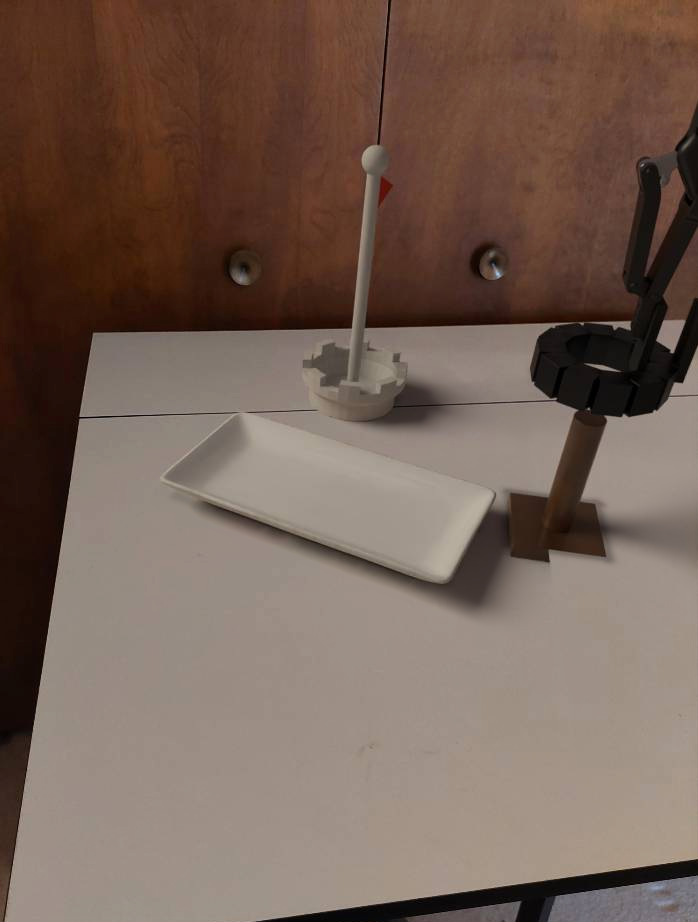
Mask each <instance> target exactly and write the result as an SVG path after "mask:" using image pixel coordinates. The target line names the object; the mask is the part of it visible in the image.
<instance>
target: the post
mask: <svg viewBox="0 0 698 922" xmlns="http://www.w3.org/2000/svg"><path fill="white" fill-rule="evenodd" d="M607 423H608V418H607V416H604V415H596V414H591V413H590V409H587V410H586V411H585V412H582V411H579V410H576V411H575V412H574V414H573V416H572V420H571V423H570V425H569V429H568V431H567V432H568V433H567V436H566V439H565V442H564V444H563V445H564V446H563V448H562V451H561V455H560V459H559V462H558V465H557V468H556V471H555V475H554V478H553V481H552V484H551V488H550V491H549V494H548V497H547V496H540V495H531V494H524V493H518V492H517V493H516V492H509V495H508V498H507V503H506V504H507V505H506V507H507V523H508V534H509V535H508V536H509V547H510V548H509V550H510V557H514V558H522V559H528V560H533V561H534V560H536V561H542V560H543V562H549V561H550V562H551V558H550V551H556V552H558V551H559V552H563V553H570V554H578V555H585V556H592V557H601V558H607V552H606V548H605V544H604V539H603V533H602V529H601V524H600V519H599V513H598V510H597V505H596V503H593V502H585V501H581V500H582V497H583V494H584V491H585V489H586V486H587V483H588V479H589V476H590V474H591V471H592V468H593V464H594V462H595V459H596V455H597V454H598V450H599V447H600V444H601V442H602V439H603V435H604V433H605V430H606V427H607Z"/></svg>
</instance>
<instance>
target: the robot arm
mask: <svg viewBox="0 0 698 922" xmlns="http://www.w3.org/2000/svg"><path fill="white" fill-rule="evenodd" d="M676 169H677V170H678V173H679V176H680V179H681V182H682V185H683V188H684V191H683V194H682V196H681V198H680V200H679V202H678V205H677V211H676V213H675V215H674V217H673V219H672V221H671V223H670V225H669V226H668V229H667V231H666V234H665V236H664V238H663V240H662V242H661V243H660V246H659V248H658V250H657V252H656V254H655V257H654V258H653V261H652V263H651V264H650V267H649V268H648V271H647V273H646V270H647V266H648V262H649V257H650V251H651V248H652V243H653V239H654V233H655V230H656V224H657V220H658V216H659V211H660V208H661V202H662V201H661V200H662V188H664V187H666V186H668V184H669V183H670V180H671V176H672V173H673V172H674V171H675V170H676ZM635 171H636V176H637V177H636V178H637V184H638V193H637V194H638V195H637V199H636V203H635V209H634V212H633V213H634V214H633V219H632V223H631V228H630V233H629V238H628V243H627V249H626V252H625V253H626V254H625V258H624V259H625V260H624V263H623V267H622V273H621V279H622V282H623V285H624V287H625V290H626V291H627V293H629V294H631V295H635V296H637V297H638V300H637V303H636V306H635V309H634V311H633V315H632V319H631V321H630V324H629V327H630V330H631V332H632V335H633V337H636V338H637V341H636V344H635V347H634V350H633V352H632V355H631V358H630V361H629V366H630V369H631V371H634V370H640V369H643V368H644V367H645V366H646V365H647V364H648V362H649V359H650V356H651V354H652V351H653V348H654V345H655V343H656V341H658V338H659V334H660V331H661V328H662V326H663V323H664V320H665V318H666V314H667V312H668V309H669V306H668V303H667V301H666V300H665V297H664V295H665V293H666V291H667V288H668V287H669V286H670V285H669V284H670V283H671V281H672V279H673V276H674V275H675V273H676V271H677V269H678V267H679V265H680V263H681V261H682V259H683V257H684V255H685V253H686V251H687V249H688V248H689V245H690V243H691V241H692V239H693V238H694V236H695V233H696V231H697V230H698V101H697V102H696V105H695V108H694V111H693V114H692V117H691V121H690V123H689V127H688V129H687V131H686V133H685V134H684V135H683V137H681V139H680V140H679V141H678V142H677V143H676V145H675V148H674V150H673V151H670V152H667V153H664V154H661V155H659V156H658V155H657V156H656V157H653V158H651V157H650V156H647V155H646V156H645V155H644V156H641V157H640V158H638V160H637V161H636V163H635ZM645 274H646V275H645ZM689 308H690V309H689V311H688V313H687V315H686V319H685V321H684V324H683V326H682V330H681V332H680V335H679V338H678V340H677V343H676V346H675V348H674V351H673V353H674V355H675V357H676V359H677V362H678V364H679V372H678V374H677V377H676V380H675V382H674V384H684V382H685V379H686V377H687V374H688V371H689V369H690V366H691V364H692V362H693V360H694V357H695V354H696V353H697V349H698V297H694V298H693V300H692V303H691V306H690V307H689Z"/></svg>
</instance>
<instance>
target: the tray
mask: <svg viewBox="0 0 698 922" xmlns="http://www.w3.org/2000/svg"><path fill="white" fill-rule="evenodd" d="M159 482H160V483H161V484H163V485H165V486H167V487H170V488H172V489H174V490H176V491H178V492H180V493H182V494H185V495H188V496H190V497H192V498H194V499H198V500H201V501H204V502H205V503H209V504H211V505H213V506H216V507H219V508H222V509H225V510H226V511H230V512H233V513H236V514H238V515H242V516H245V517H247V518H249V519H252V520H254V521H255V520H256V521H258V522H260V523H262V524H266V525H269V526H272V527H274V528H277V529H280V530H282V531H284V532H287V533H290V534H293V535H296V536H299V537H302V538H305V539H307V540H310V541H313V542H316V543H319V544H321V545H324V546H326V547H329V548H332V549H336V550H338V551H341V552H344V553H346V554H348V555H352V556H355V557H357V558H360V559H363V560H366V561H368V562H372V563H375V564H377V565H380V566H382V567H385V568H388V569H390V570H394V571H396V572H397V573H400V574H401V573H402V574H404V575H407V576H411V577H413V578H415V579H419V580H422V581H426V582H428V583H429V582H430V583H435V584H439V585H440V584H442V585H443V584H447V583H449V582H450V581H451V580H452V579H453V577H454V576H455V574H456V572H457V571H458V569H459V567H460V564H461V562H462V561H463V559H464V556H465V554H466V553H467V550H468V549H469V547H470V545H471V543H472V541H473V539H474V538H475V536H476V534H477V533H478V530H479V528H480V527H481V525H482V523H483V522H484V519H485V518H486V516H487V514H488V513H489V511H490V509H491V508H492V506H493V504H494V502H495V500H496V498H497V492H496V490H494V489H492V488H490V487H487V486H485V485H482V484H478V483H475V482H472V481H468V480H465V479H463V478H458V477H455V476H453V475H452V476H451V475H448V474H445V473H442V472H439V471H435V470H432V469H429V468H426V467H422V466H419V465H417V464H414V463H409V462H406V461H404V460H400V459H397V458H393V457H391V456H387V455H384V454H381V453H378V452H374V451H371V450H368V449H365V448H362V447H358V446H355V445H352V444H349V443H346V442H343V441H339V440H336V439H333V438H330V437H327V436H324V435H320V434H317V433H314V432H311V431H308V430H305V429H302V428H298V427H295V426H292V425H289V424H286V423H282V422H280V421H276V420H273V419H270V418H267V417H263V416H260V415H257V414H254V413H250V412H244V411H240V412H236V413H234V414H232V415H231V416H230V417H229V418H227V419H226V420H225V421H224V422H222V423H221V424H220V425H219V426H218V427H217V428H216V429H215V430H214V431H212V432H211V433H210V434H208V435H207V436H206V437H205V438H204V439H203V440H202V441H200V442H199V443H198V444H197V445H195V446H194V447H193V448H192V449H191V450H189V452H187V453H186V454H185V455H183V456H182V457H181V458H180V459H179V460H178V461H176V462H175V463H174V464H173V465H172V466H170V467H169V468H168V469H167V470H166V471H164V473H162V474H161V475H160V477H159Z"/></svg>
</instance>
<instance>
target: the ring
mask: <svg viewBox="0 0 698 922" xmlns="http://www.w3.org/2000/svg"><path fill="white" fill-rule="evenodd" d="M636 341H637V338H636V337H633V335H632V332H631V329H628V328H625V327H621V326H618V327H616V328H615V329H614V326H613V325H612V324H604V323H593V322H583V324H581V323H580V322H572V323H563V324H558V325H555V326H554V327H553V326H551V327H549V328H548V329H546V330H545V331H543V332H542V333H541V334H539V335H538V337H537V338H536V343H535V346H534V350H533V353H532V357H531V361H530V365H529V373H530V380H531V382H532V383H533V386H534V387H536V389H538V390H539V391H540V392H542V393H543V394H544V395H545V396H546V397H548V399H550V400H551V399H555V402H556V403H558V404H560V405H563V406H566V407H568V408H571V409H574V410H576V411H582V412H585V411H586V410H590V413H591V414H596V415H604V416H605V417H614V418H623V416H626V417H627V418H632V417H638V416H644V415H649V414H653V413H654V411H656V412H658V411H659V410H660V409H661V408H662V407H663V406H664V404H665V403H666V402H667V401H668V400H669V398H670V395H671V394H672V393H671V392H672V390H673V388H674V385H675V383H674V382H675V380H676V377H677V374H678V372H679V364H678V362H677V359H676V357H675V355H674V352H671V348H669V347H667V346H665V345H664V344H662V343H661V342H659V341H658V340H656V343H655V345H654V348H653V351H652V354H651V356H650V359H649V362H648V364H647V365H646V366H645V367H644V368H643V369H640V370H634V371H631V369H630V366H629V361H630V358H631V355H632V352H633V350H634V347H635V344H636ZM592 365H593V366H592ZM595 366H603V367H606V368H609V370H608V369H602V368H598V367H595ZM610 369H612V370H610Z"/></svg>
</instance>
